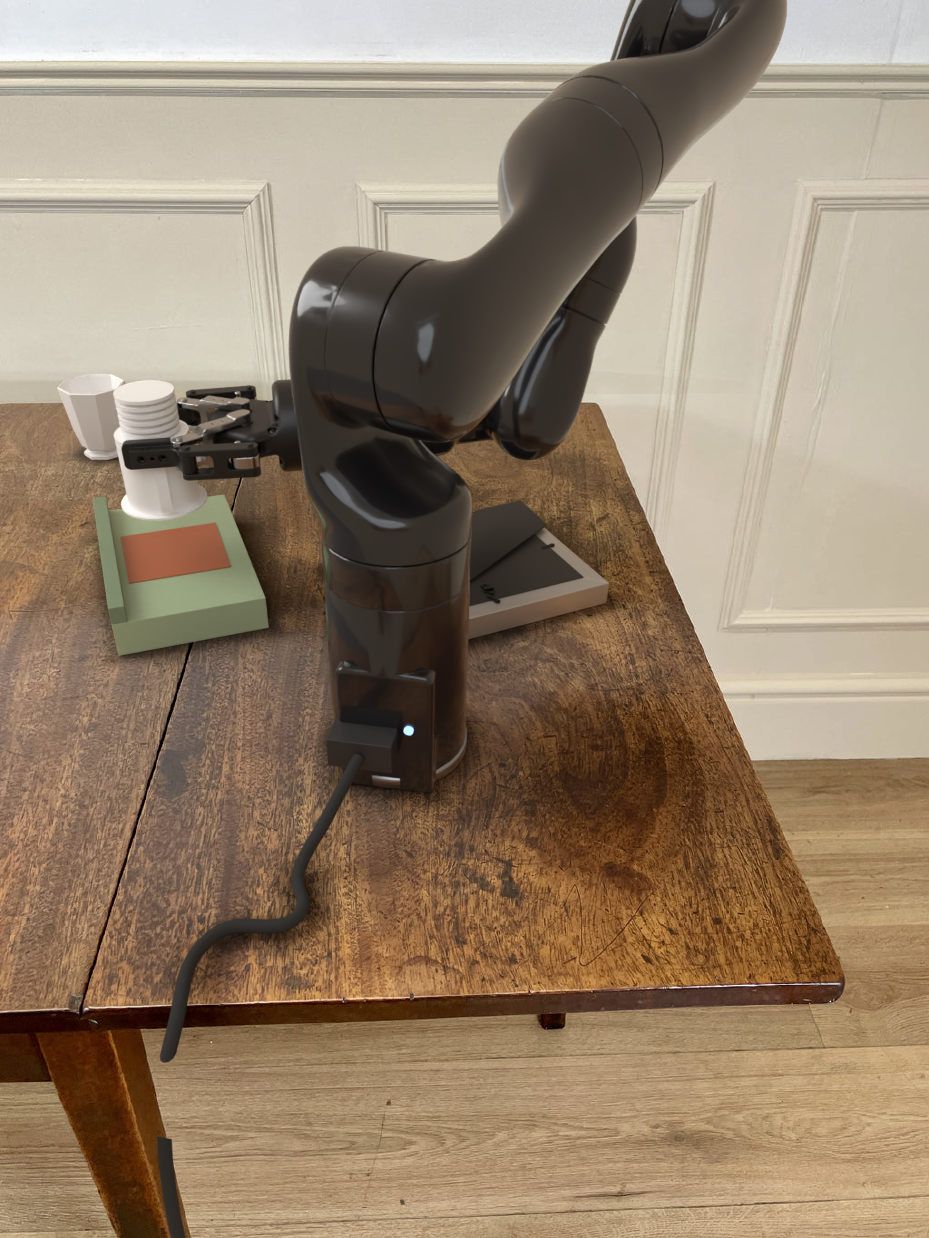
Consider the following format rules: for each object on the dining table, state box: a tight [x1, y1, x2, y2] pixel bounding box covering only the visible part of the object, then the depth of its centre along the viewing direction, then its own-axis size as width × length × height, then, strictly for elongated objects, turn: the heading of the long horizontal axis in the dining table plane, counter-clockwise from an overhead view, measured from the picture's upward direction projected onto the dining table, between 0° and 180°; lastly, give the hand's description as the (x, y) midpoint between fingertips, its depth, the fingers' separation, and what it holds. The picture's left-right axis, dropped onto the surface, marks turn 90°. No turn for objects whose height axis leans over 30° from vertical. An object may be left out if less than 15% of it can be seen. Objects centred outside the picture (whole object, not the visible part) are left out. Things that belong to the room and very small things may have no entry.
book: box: [92, 494, 270, 657], centre depth 83 cm, size 12×20×4 cm, turn 21°
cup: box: [56, 373, 126, 461], centre depth 106 cm, size 7×10×8 cm
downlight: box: [113, 379, 208, 521], centre depth 77 cm, size 8×7×10 cm
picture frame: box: [321, 500, 610, 640], centre depth 84 cm, size 16×3×21 cm
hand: (128, 436), depth 76 cm, fingers closed on downlight, 7 cm apart
